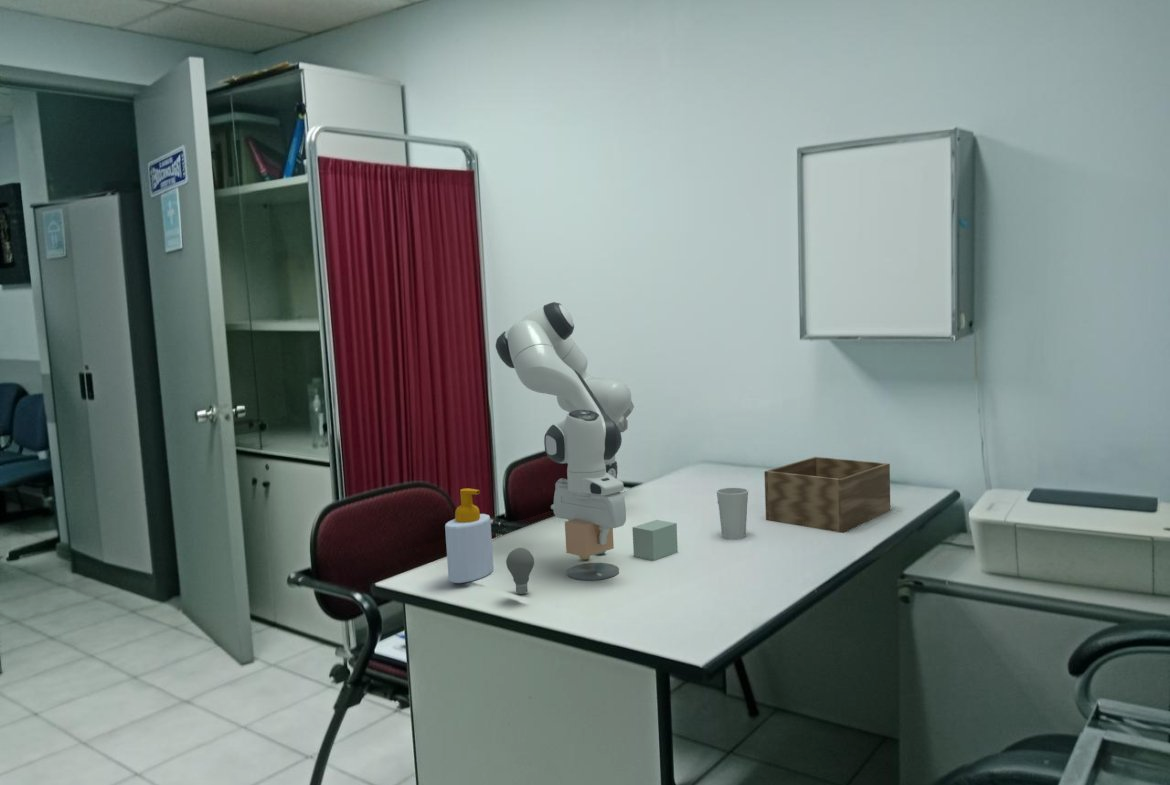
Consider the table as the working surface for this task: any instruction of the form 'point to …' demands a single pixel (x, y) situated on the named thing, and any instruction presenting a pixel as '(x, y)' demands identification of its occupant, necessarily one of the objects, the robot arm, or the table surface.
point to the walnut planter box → (827, 493)
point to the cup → (733, 512)
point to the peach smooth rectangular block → (585, 538)
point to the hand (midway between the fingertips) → (589, 541)
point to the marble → (584, 557)
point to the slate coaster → (592, 571)
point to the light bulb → (520, 568)
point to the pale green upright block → (655, 539)
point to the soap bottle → (468, 542)
